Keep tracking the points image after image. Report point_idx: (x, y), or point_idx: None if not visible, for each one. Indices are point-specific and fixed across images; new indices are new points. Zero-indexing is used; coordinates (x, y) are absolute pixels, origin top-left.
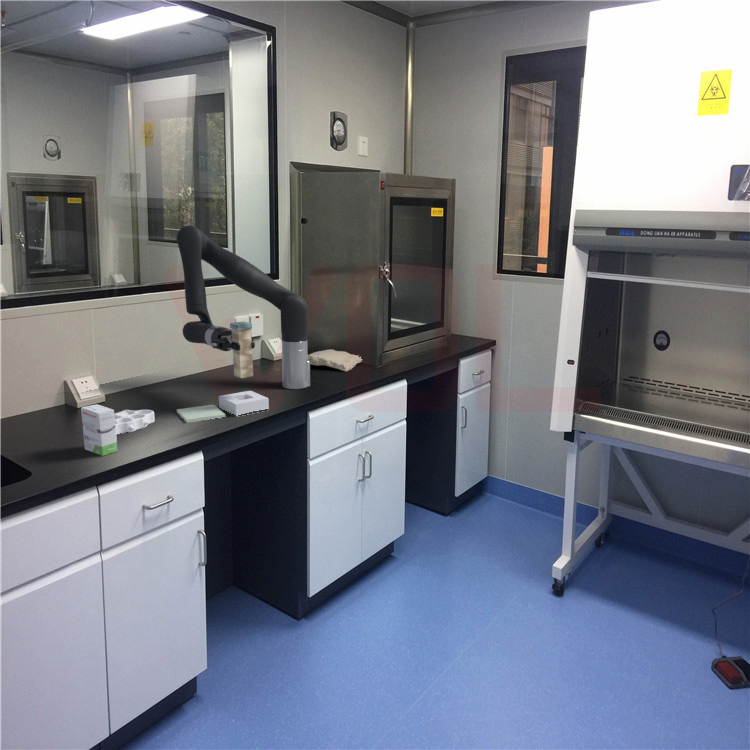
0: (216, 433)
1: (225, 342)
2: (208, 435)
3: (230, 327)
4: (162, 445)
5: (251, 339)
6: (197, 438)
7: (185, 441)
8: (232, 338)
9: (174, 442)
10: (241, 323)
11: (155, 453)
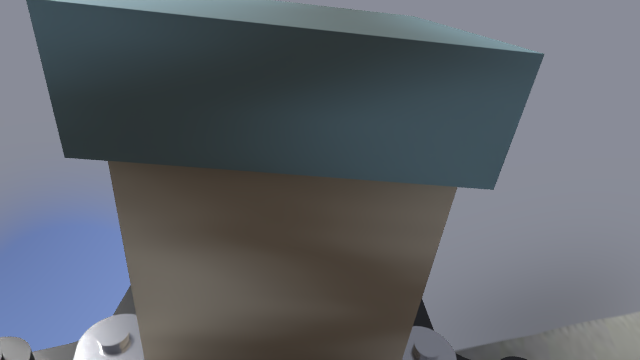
0: (473, 347)
1: (518, 357)
2: (499, 346)
3: (491, 167)
4: (632, 351)
5: (30, 351)
6: (532, 343)
7: (566, 342)
8: (403, 331)
9: (600, 352)
10: (309, 9)
11: (631, 314)
